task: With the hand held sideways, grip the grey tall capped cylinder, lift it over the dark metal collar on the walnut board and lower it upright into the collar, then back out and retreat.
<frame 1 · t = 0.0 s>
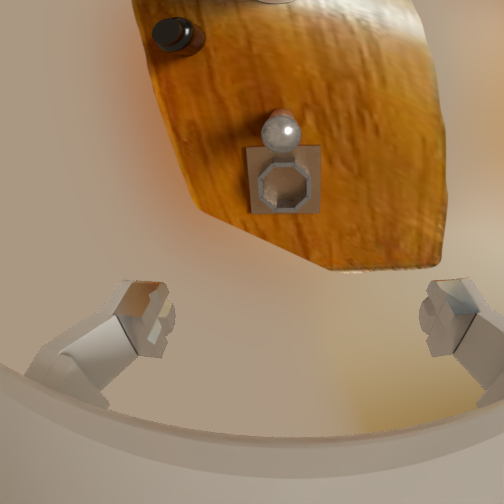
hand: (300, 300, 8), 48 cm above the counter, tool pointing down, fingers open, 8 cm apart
grey tall capped cylinder: (282, 119, 48), on the counter
duct collar: (284, 179, 55), on the counter
supplement bottle: (189, 40, 41), on the counter
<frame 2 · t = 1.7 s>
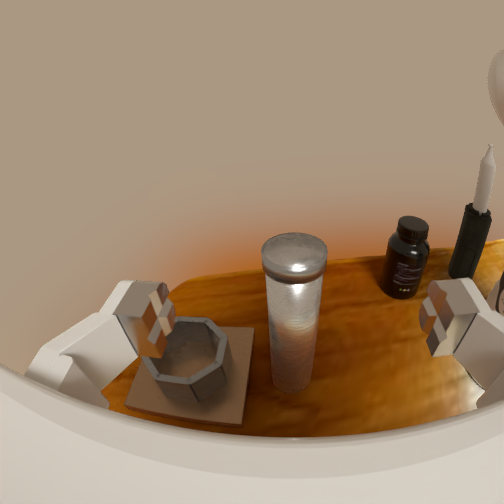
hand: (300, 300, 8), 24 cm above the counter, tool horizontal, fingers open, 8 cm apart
grey tall capped cylinder: (291, 377, 31), on the counter
duct collar: (193, 372, 33), on the counter
supplement bottle: (398, 288, 42), on the counter
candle: (459, 273, 43), on the counter
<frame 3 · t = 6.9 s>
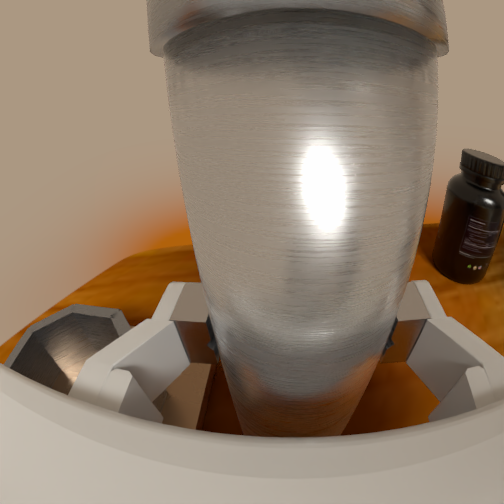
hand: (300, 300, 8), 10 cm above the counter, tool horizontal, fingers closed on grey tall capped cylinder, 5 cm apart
grey tall capped cylinder: (290, 441, 13), on the counter, touching gripper
duct collar: (101, 410, 14), on the counter
supplement bottle: (457, 267, 24), on the counter
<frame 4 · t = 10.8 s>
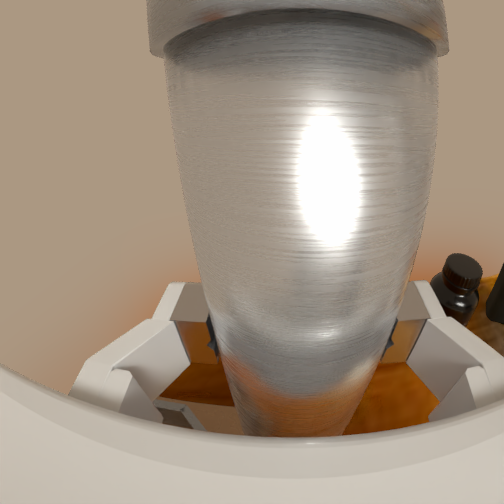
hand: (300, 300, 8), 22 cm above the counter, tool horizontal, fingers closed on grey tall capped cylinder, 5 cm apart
grey tall capped cylinder: (290, 441, 13), point 12 cm above the counter, touching gripper
duct collar: (171, 461, 21), on the counter
supplement bottle: (432, 339, 30), on the counter
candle: (497, 313, 31), on the counter
when the fingers open (12 cm above the counter, at t = 15.0 s): grey tall capped cylinder drops 1 cm, resting on duct collar.
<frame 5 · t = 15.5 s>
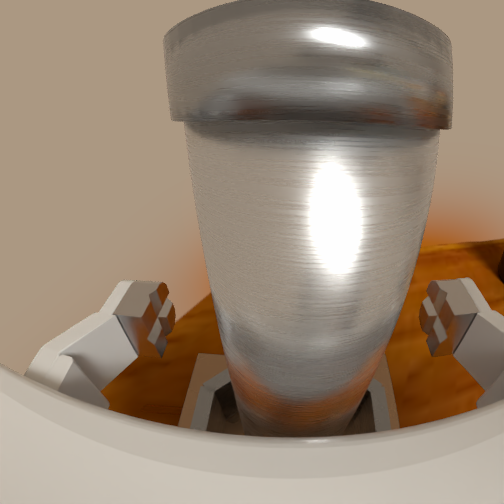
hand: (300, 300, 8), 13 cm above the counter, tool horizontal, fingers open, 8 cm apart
grey tall capped cylinder: (289, 447, 13), point 1 cm above the counter, touching duct collar
duct collar: (288, 452, 14), on the counter
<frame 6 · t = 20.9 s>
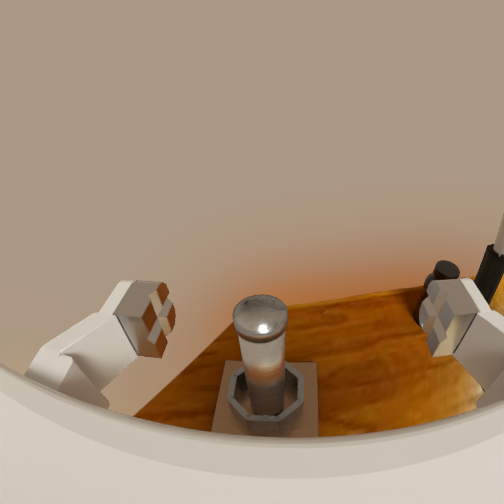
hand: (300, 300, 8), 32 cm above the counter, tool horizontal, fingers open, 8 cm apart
grey tall capped cylinder: (267, 401, 35), point 1 cm above the counter, touching duct collar
duct collar: (267, 405, 36), on the counter
supplement bottle: (428, 319, 45), on the counter
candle: (476, 303, 46), on the counter
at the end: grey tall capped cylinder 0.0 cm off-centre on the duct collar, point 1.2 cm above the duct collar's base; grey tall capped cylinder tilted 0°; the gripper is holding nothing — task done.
